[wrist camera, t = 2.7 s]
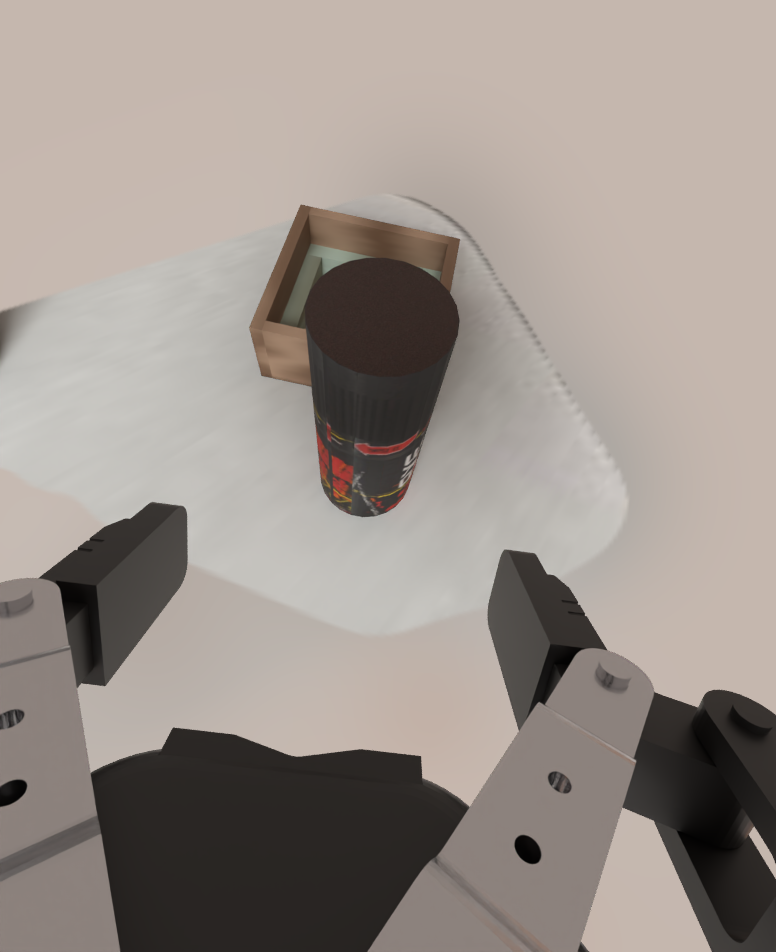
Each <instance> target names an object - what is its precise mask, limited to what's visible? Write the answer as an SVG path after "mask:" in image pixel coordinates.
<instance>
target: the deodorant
mask: <svg viewBox="0 0 776 952" xmlns="http://www.w3.org/2000/svg"><path fill="white" fill-rule="evenodd" d="M305 325H306V335H307V345H308V355H309V365H310V375H311V385H312V395H313V404H314V414H315V424H316V434H317V444H318V454H319V464H320V474H321V483H322V486H323V489H324V492H325V494H326V495H327V497H328V498H329V500H330V501H331V502H332V503H333V504H334V505H335V506H336V507H338V508H339V509H340V510H342V511H344V512H346V513H348V514H351V515H355V516H361V517H370V516H377V515H380V514H383V513H386V512H388V511H389V510H391V509H392V508H394V507H396V505H397V504H398V503H399V502H400V501H401V500H402V499H403V497H404V495H405V493H406V491H407V489H408V486H409V483H410V480H411V477H412V474H413V471H414V467H415V464H416V461H417V458H418V455H419V452H420V449H421V446H422V443H423V440H424V437H425V434H426V431H427V428H428V424H429V421H430V418H431V415H432V412H433V409H434V406H435V403H436V400H437V397H438V394H439V391H440V388H441V385H442V381H443V378H444V375H445V372H446V369H447V366H448V363H449V360H450V357H451V354H452V351H453V348H454V345H455V342H456V338H457V335H458V328H459V316H458V311H457V305H456V304H455V302H454V300H453V298H452V296H451V294H450V292H449V291H448V290H447V289H446V288H445V287H444V286H443V284H442V283H441V282H440V281H439V280H438V279H437V278H435V277H434V276H432V275H431V274H429V273H428V272H426V271H425V270H423V269H422V268H419V267H417V266H414V265H412V264H409V263H407V262H404V261H399V260H394V259H389V258H363V259H358V260H352V261H348V262H346V263H343V264H341V265H339V266H336V267H334V268H332V269H331V270H329V271H328V272H327V273H325V274H324V275H323V276H321V277H320V278H319V279H318V280H317V282H316V283H315V284H314V286H313V287H312V288H311V290H310V291H309V294H308V297H307V300H306V303H305Z"/></svg>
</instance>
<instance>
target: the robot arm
mask: <svg viewBox="0 0 776 952" xmlns="http://www.w3.org/2000/svg"><path fill="white" fill-rule="evenodd" d="M186 570H187V512H186V509H185V508H184V507H183V506H177V505H170V504H162V503H155V502H152V503H150V504H148V505H147V506H146V507H144V508H143V509H142V510H141V511H140V512H138V513H137V514H136V515H135V516H134V517H132V518H131V519H123V520H121V521H118V522H116V523H113V524H111V525H108V526H106V527H104V528H103V529H101V530H100V531H99V532H97V533H96V534H95V535H93V536H92V537H91V538H90V540H89V541H86V542H84V543H83V544H82V545H81V546H79V547H78V550H74V551H73V552H72V553H70V554H69V555H68V556H66V557H65V558H64V559H63V560H61V561H60V562H59V563H57V564H56V565H55V566H53V567H52V568H51V569H50V570H48V571H47V572H46V573H44V574H43V575H42V576H41V577H40V578H25V579H16V580H11V581H5V582H2V583H0V952H589V951H588V950H587V949H586V947H585V946H584V945H583V944H582V942H581V939H582V935H583V932H584V929H585V926H586V923H587V920H588V916H589V913H590V910H591V907H592V903H593V900H594V897H595V894H596V890H597V887H598V884H599V881H600V878H601V874H602V871H603V868H604V865H605V861H606V858H607V855H608V852H609V848H610V845H611V842H612V839H613V836H614V832H615V829H616V826H617V822H618V819H619V816H620V813H621V810H622V807H623V808H625V809H627V810H630V811H632V812H635V813H637V814H639V815H642V816H644V817H647V818H649V819H651V820H654V822H655V825H656V827H657V829H658V831H659V834H660V836H661V838H662V840H663V842H664V845H665V847H666V849H667V851H668V854H669V856H670V858H671V860H672V863H673V865H674V867H675V870H676V872H677V874H678V876H679V879H680V881H681V883H682V885H683V887H684V890H685V892H686V894H687V896H688V899H689V901H690V903H691V905H692V907H693V910H694V912H695V914H696V917H697V919H698V921H699V923H700V926H701V928H702V930H703V932H704V935H705V937H706V939H707V941H708V944H709V946H710V948H711V950H712V952H776V879H775V877H774V876H773V874H772V872H771V871H770V869H769V867H768V866H767V864H766V863H765V861H764V859H763V858H762V856H761V854H760V853H759V851H758V849H757V848H756V846H755V845H754V843H753V841H752V840H751V838H750V836H749V833H750V831H751V830H752V828H753V827H755V828H756V829H757V831H758V833H759V834H760V836H761V838H762V839H763V841H764V842H765V844H766V845H767V847H768V849H769V850H770V852H771V854H772V856H773V858H774V860H775V863H776V715H775V714H774V713H772V712H771V711H770V710H768V709H767V708H765V707H764V706H762V705H760V704H759V703H757V702H755V701H753V700H751V699H749V698H747V697H744V696H742V695H740V694H736V693H733V692H729V691H725V690H712V691H709V692H707V693H706V694H705V695H704V697H703V699H702V701H701V703H700V705H699V707H698V708H697V707H695V706H692V705H689V704H686V703H683V702H680V701H677V700H674V699H672V698H669V697H666V696H663V695H660V694H658V693H655V692H654V688H653V685H652V683H651V681H650V679H649V678H648V677H647V675H646V674H645V673H644V672H643V671H642V670H641V669H640V668H639V667H638V666H636V665H635V664H633V663H632V662H631V661H629V660H628V659H626V658H624V657H622V656H620V655H618V654H616V653H613V652H610V651H608V650H607V649H606V647H605V646H604V644H603V642H602V641H601V639H600V637H599V636H598V634H597V633H596V631H595V629H594V628H593V626H592V624H591V623H590V621H589V619H588V618H587V616H585V613H584V611H583V610H582V608H581V606H580V605H578V601H577V600H576V598H575V596H574V595H573V593H572V592H571V590H570V589H569V587H567V586H566V585H565V584H564V583H563V582H561V581H560V580H559V579H558V578H557V577H556V576H554V575H548V574H546V572H545V570H544V568H543V566H542V565H541V563H540V561H539V559H538V557H537V556H536V554H534V553H528V552H520V551H512V550H504V551H503V552H502V554H501V557H500V561H499V565H498V569H497V572H496V576H495V580H494V584H493V588H492V592H491V596H490V600H489V605H488V625H489V629H490V632H491V636H492V640H493V643H494V647H495V650H496V653H497V656H498V660H499V664H500V667H501V671H502V674H503V678H504V681H505V685H506V688H507V691H508V695H509V698H510V702H511V705H512V709H513V712H514V715H515V719H516V722H517V726H518V729H519V732H518V734H517V735H516V737H515V738H514V740H513V741H512V743H511V744H510V746H509V747H508V749H507V751H506V752H505V754H504V755H503V757H502V758H501V760H500V761H499V763H498V764H497V766H496V768H495V769H494V771H493V772H492V774H491V775H490V777H489V778H488V780H487V781H486V783H485V785H484V786H483V788H482V789H481V791H480V792H479V794H478V795H477V797H476V799H475V800H474V801H473V803H472V805H471V806H470V807H469V806H468V805H467V804H465V803H464V802H463V801H462V800H461V799H459V798H458V797H457V796H455V795H453V794H452V793H450V792H449V791H447V790H446V789H444V788H442V787H440V786H438V785H436V784H434V783H433V782H430V781H428V780H425V779H423V778H422V767H421V756H415V755H406V754H397V753H388V752H380V751H371V750H363V749H361V750H360V749H359V750H352V751H343V752H335V753H327V754H319V755H311V756H303V757H295V756H290V755H287V754H284V753H282V752H279V751H276V750H274V749H271V748H268V747H266V746H263V745H260V744H258V743H255V742H253V741H250V740H247V739H245V738H242V737H239V736H237V735H232V734H224V733H215V732H207V731H198V730H189V729H180V728H173V729H172V730H171V732H170V734H169V736H168V738H167V740H166V742H165V744H164V746H163V748H162V749H160V750H153V751H148V752H144V753H139V754H135V755H132V756H129V757H126V758H123V759H120V760H117V761H115V762H113V763H110V764H108V765H105V766H103V767H101V768H99V769H97V770H95V771H93V772H92V773H90V767H89V761H88V755H87V748H86V742H85V736H84V730H83V723H82V718H81V711H80V704H79V699H78V692H77V688H78V687H79V685H80V684H81V683H83V684H92V685H100V686H106V684H107V683H108V682H109V680H110V679H111V678H112V677H113V675H114V674H115V672H116V671H117V670H118V669H119V667H120V666H121V664H122V663H123V662H124V661H125V659H126V658H127V657H128V655H129V654H130V653H131V651H132V650H133V649H134V647H135V646H136V645H137V643H138V642H139V641H140V639H141V638H142V637H143V635H144V634H145V633H146V631H147V630H148V629H149V627H150V626H151V625H152V623H153V622H154V621H155V619H156V618H157V617H158V616H159V614H160V613H161V612H162V610H163V609H164V608H165V606H166V605H167V603H168V602H169V601H170V600H171V598H172V597H173V595H174V594H175V593H176V592H177V590H178V589H179V588H180V586H181V584H182V582H183V580H184V577H185V574H186Z"/></svg>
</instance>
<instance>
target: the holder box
mask: <svg viewBox="0 0 776 952" xmlns="http://www.w3.org/2000/svg"><path fill="white" fill-rule="evenodd" d="M459 242H460V239H457V238H453V237H448V236H444V235H439V234H434V233H430V232H425V231H420V230H416V229H411V228H406V227H402V226H397V225H393V224H388V223H383V222H379V221H374V220H369V219H365V218H360V217H356V216H351V215H346V214H342V213H337V212H332V211H328V210H323V209H318V208H313V207H309V206H305V205H300V208H299V210H298V212H297V215H296V217H295V220H294V222H293V224H292V227H291V229H290V232H289V234H288V236H287V239H286V241H285V243H284V246H283V248H282V251H281V253H280V255H279V258H278V260H277V263H276V265H275V267H274V270H273V272H272V274H271V277H270V279H269V282H268V284H267V286H266V289H265V291H264V294H263V296H262V298H261V301H260V303H259V306H258V308H257V310H256V313H255V315H254V317H253V320H252V322H251V325H250V327H249V328H250V332H251V336H252V340H253V344H254V348H255V352H256V356H257V360H258V364H259V367H260V371H261V375H262V376H266V377H270V378H275V379H279V380H284V381H289V382H293V383H298V384H303V385H307V386H312V385H311V375H310V365H309V355H308V345H307V335H306V325H305V303H306V300H307V297H308V294H309V291H310V290H311V288H312V287H313V286H314V284H315V283H316V282H317V280H318V279H319V278H320V277H321V276H323V275H324V274H325V273H327V272H328V271H329V270H331V269H332V268H334V267H336V266H339V265H341V264H343V263H346V262H348V261H352V260H358V259H363V258H389V259H394V260H399V261H404V262H407V263H409V264H412V265H414V266H417V267H419V268H422V269H423V270H425V271H426V272H428V273H429V274H431V275H432V276H434V277H435V278H437V279H438V280H439V281H440V282H441V283H442V284H443V286H444V287H445V288H446V289H447V290H448V291H449V292H450V290H451V285H452V279H453V274H454V269H455V263H456V258H457V253H458V248H459Z"/></svg>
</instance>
